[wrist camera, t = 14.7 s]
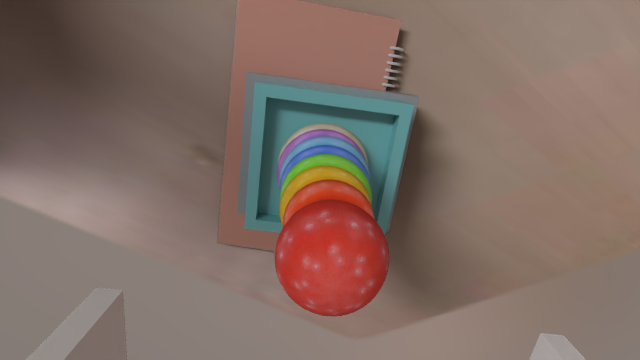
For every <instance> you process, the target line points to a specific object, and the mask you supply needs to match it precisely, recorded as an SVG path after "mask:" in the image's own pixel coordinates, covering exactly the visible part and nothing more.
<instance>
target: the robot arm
mask: <svg viewBox="0 0 640 360" xmlns="http://www.w3.org/2000/svg"><path fill="white" fill-rule="evenodd" d="M125 334H126V333H125V317H124V299H123V290H117V289H107V288H96V289H95V290H94V291H93V292H92V293H91V294H90V295H89V296H88V297H87V298H86V299H85V300H84V301H83V302H82V303H81V304H80V305H79V306H78V307H77V308H76V309H75V310H74V311H73V312H72V313H71V314H70V315H69V316H68V317H67V318H66V319H65V320H64V321H63V323H61V324H60V325H59V327H58V328H57V329H56V330H55V331H54V332H53V333H52V334H51V335H50V336H49V337H48V338H47V339H46V340H45V341H44V342H43V343H42V344H41V345H40V346H39V347H38V348H37V349H36V350H35V351H34V352H33V353H32V354H31V355H30V356H29V357H28V358H27V359H26V360H127V351H126V335H125ZM529 360H585V358H583V356H582V355H581V354H580V353H579V352H578V351H577V350H576V349H575V348H574V347H573V345H572V344H571V343H570V342H569V341H568V340H567V339H566V338H565V337H564V336H563V335H555V334H545V333H540V336H539V338H538V340H537V343H536V345H535V348H534V350H533V352H532V355H531V357H530V359H529Z"/></svg>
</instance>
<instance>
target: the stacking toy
mask: <svg viewBox="0 0 640 360" xmlns="http://www.w3.org/2000/svg"><path fill="white" fill-rule="evenodd" d="M277 182H278V186H279V190H280V208H279V210H280V219H281V223H282V225H283V229H282V231H281V233H280V235H279V237H278V240H277V244H276V249H275V266H276V272H277V275H278V278H279V281H280V283H281V285H282V286H283V288H284V290H285V291H286V293H287V294H288V295H289V297H290V298H291V299H292V300H293V301H294V302H296V303H297V304H298V305H299V306H301V307H302V308H304V309H306V310H308V311H310V312H312V313H315V314H319V315H323V316H342V315H346V314H350V313H352V312H355V311H357V310H359V309H361V308H362V307H364V306H365V305H367V304H368V303H369V302H370V301H371V300H372V299H373V298H374V297H375V296H376V295H377V293H378V292H379V290H380V289H381V287H382V285H383V283H384V281H385V278H386V275H387V271H388V265H389V251H388V245H387V241H386V238H385V236H384V233H383V231H382V229H381V228H380V226H379V225H378V223H377V222H376V220H375V217H374V213H373V209H372V207H371V203H372V192H371V181H370V172H369V168H368V158H367V154H366V151H365V149H364V147H363V145H362V143H361V142H360V140H359V139H358V138H357V137H356V136H355V135H354V134H353V133H352V132H350V131H349V130H347V129H345V128H343V127H341V126H338V125H335V124H330V123H316V124H311V125H308V126H305V127H303V128H301V129H299V130H298V131H296V132H295V133H293V134H292V135H291V136H290V137H289V138H288V139H287V141H286V142H285V144H284V145H283V147H282V149H281V151H280V154H279V158H278V165H277Z"/></svg>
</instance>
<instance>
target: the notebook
mask: <svg viewBox="0 0 640 360" xmlns="http://www.w3.org/2000/svg"><path fill="white" fill-rule="evenodd" d="M401 21H402V20H398V19H393V18H387V17H382V16H377V15H372V14H367V13H361V12H356V11H351V10H346V9H341V8H336V7H330V6H325V5H320V4H315V3H310V2H304V1H299V0H238V1H237V13H236V25H235V36H234V48H233V60H232V72H231V84H230V95H229V107H228V119H227V131H226V142H225V154H224V166H223V178H222V189H221V201H220V213H219V225H218V236H217V243H220V244H227V245H234V246H241V247H248V248H255V249H261V250H268V251H275V249H276V244H277V240H278V237H279V235H280V233H278V232H269V231H261V230H252V229H244V223H245V214H237V207H238V191H239V176H240V161H241V145H242V130H243V115H244V99H245V84H246V72H257V73H264V74H271V75H278V76H285V77H292V78H299V79H306V80H313V81H320V82H327V83H334V84H341V85H348V86H355V87H362V88H369V89H376V90H383V91H386V87H393V88H395V87H396V85H393V84H392V85H391V84H387V83H388V79H390V80H395V81H397V80H398V78H394V77H389V74H390V72H393V73H397V74H399V71H397V70H392V69H391V65H396V66H399V67H400V66H401V64H400V63H395V62H392V61H393V57H395V58H398V59H402V58H403V57H402V56H399V55H394V52H395V50H399V51H400V52H404V49H403V48H399V47H396V43H397V39H398V34H399V30H400V25H401ZM391 92H392V91H391Z"/></svg>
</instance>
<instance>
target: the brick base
mask: <svg viewBox="0 0 640 360" xmlns="http://www.w3.org/2000/svg"><path fill="white" fill-rule="evenodd" d="M418 101H419V97H418V96H414V95H411V94H404V93H397V92H390V91H383V90H376V89H369V88H362V87H355V86H348V85H341V84H334V83H327V82H320V81H313V80H306V79H299V78H292V77H285V76H278V75H271V74H264V73H257V72H246V84H245V99H244V115H243V130H242V145H241V161H240V176H239V191H238V207H237V214H245V223H244V229H252V230H261V231H269V232H278V233H281V231H282V229H283V225H282V223H281V219H280V210H279V208H280V190H279V186H278V182H277V165H278V158H279V154H280V151H281V149H282V147H283V145H284V144H285V142H286V141H287V139H288V138H289V137H290V136H291V135H292V134H293V133H295V132H296V131H298V130H299V129H301V128H303V127H305V126H308V125H311V124H316V123H330V124H335V125H338V126H341V127H343V128H345V129H347V130H349V131H350V132H352V133H353V134H354V135H355V136H356V137H357V138H358V139H359V140H360V142H361V143H362V145H363V147H364V149H365V151H366V154H367V158H368V168H369V172H370V181H371V192H372V203H371V207H372V209H373V213H374V217H375V220H376V222H377V223H378V225H379V226H380V228H381V229H382V231H383V233H384V236H385V235H386V231H387V232H389V230H390V226H391V221H392V217H393V212H394V208H395V204H396V199H397V195H398V190H399V186H400V181H401V177H402V172H403V168H404V163H405V159H406V155H407V150H408V146H409V141H410V137H411V132H412V128H413V123H414V119H415V114H416V110H417V105H418Z"/></svg>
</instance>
